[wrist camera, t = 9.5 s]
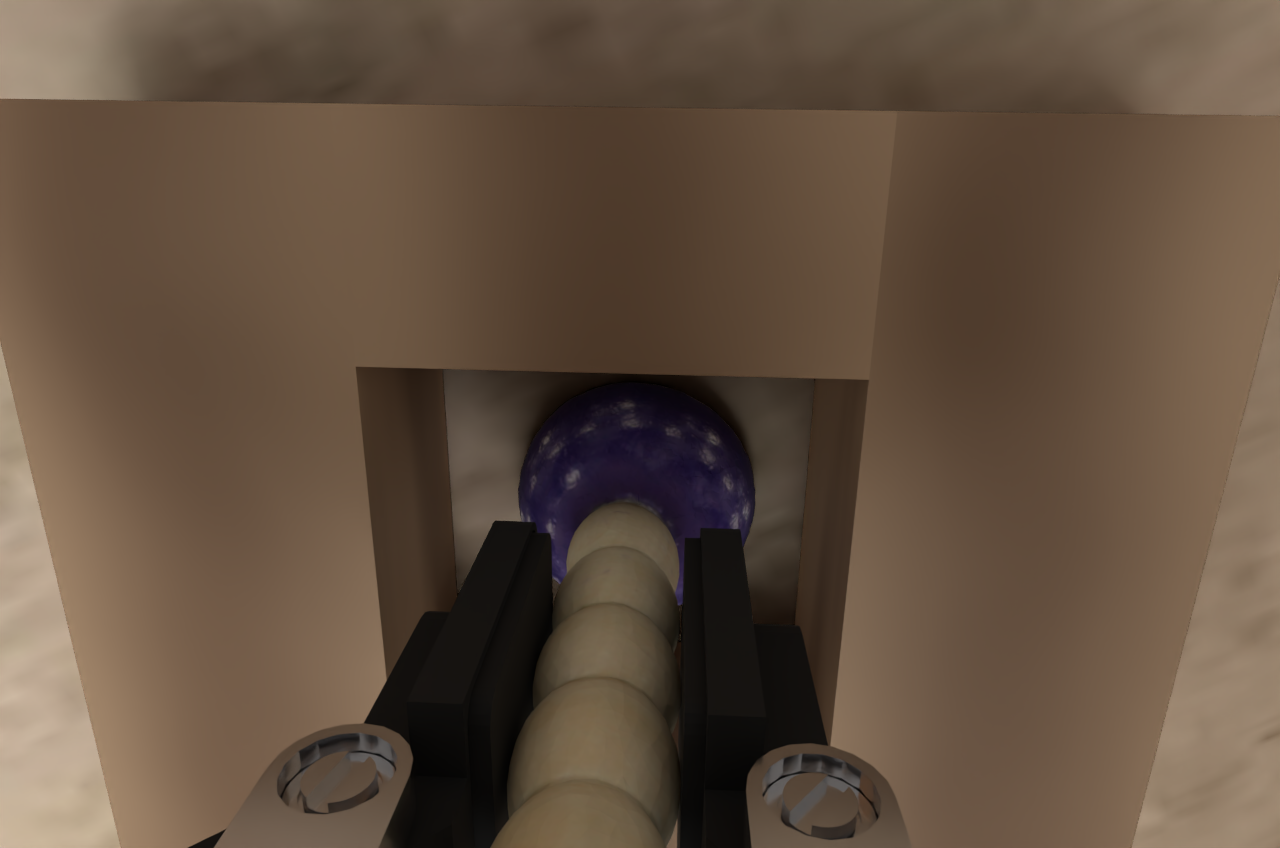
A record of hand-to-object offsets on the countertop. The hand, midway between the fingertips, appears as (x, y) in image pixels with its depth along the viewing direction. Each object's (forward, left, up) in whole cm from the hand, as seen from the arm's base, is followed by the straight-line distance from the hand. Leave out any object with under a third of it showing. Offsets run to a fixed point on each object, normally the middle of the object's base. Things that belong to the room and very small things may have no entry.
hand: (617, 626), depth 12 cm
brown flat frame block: (0, 0, -5) cm, 5 cm away
